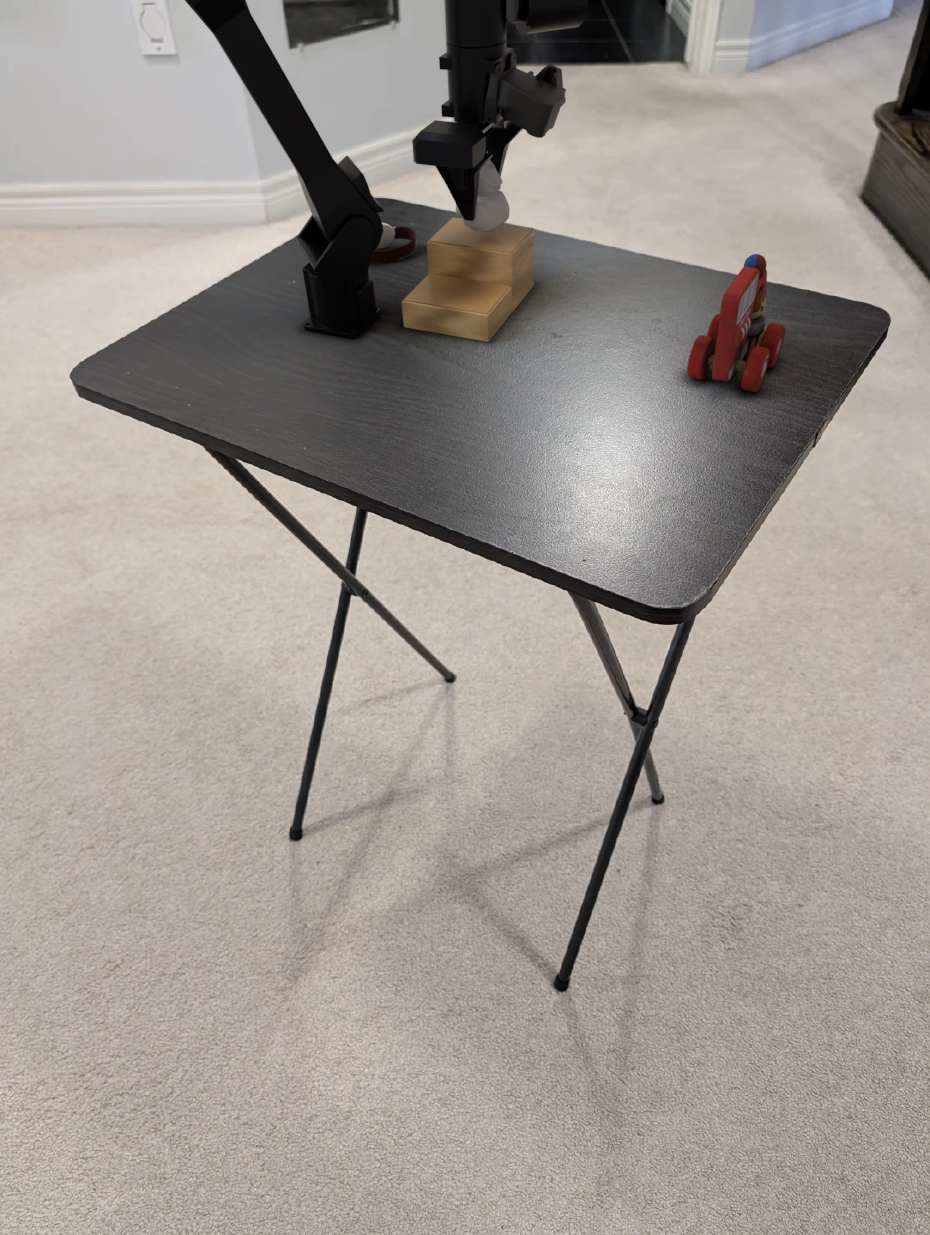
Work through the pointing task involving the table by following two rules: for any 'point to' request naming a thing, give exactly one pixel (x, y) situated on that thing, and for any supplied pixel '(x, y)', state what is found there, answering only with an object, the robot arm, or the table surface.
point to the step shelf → (472, 280)
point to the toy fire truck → (740, 332)
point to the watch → (387, 238)
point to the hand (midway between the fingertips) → (479, 209)
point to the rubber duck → (489, 201)
